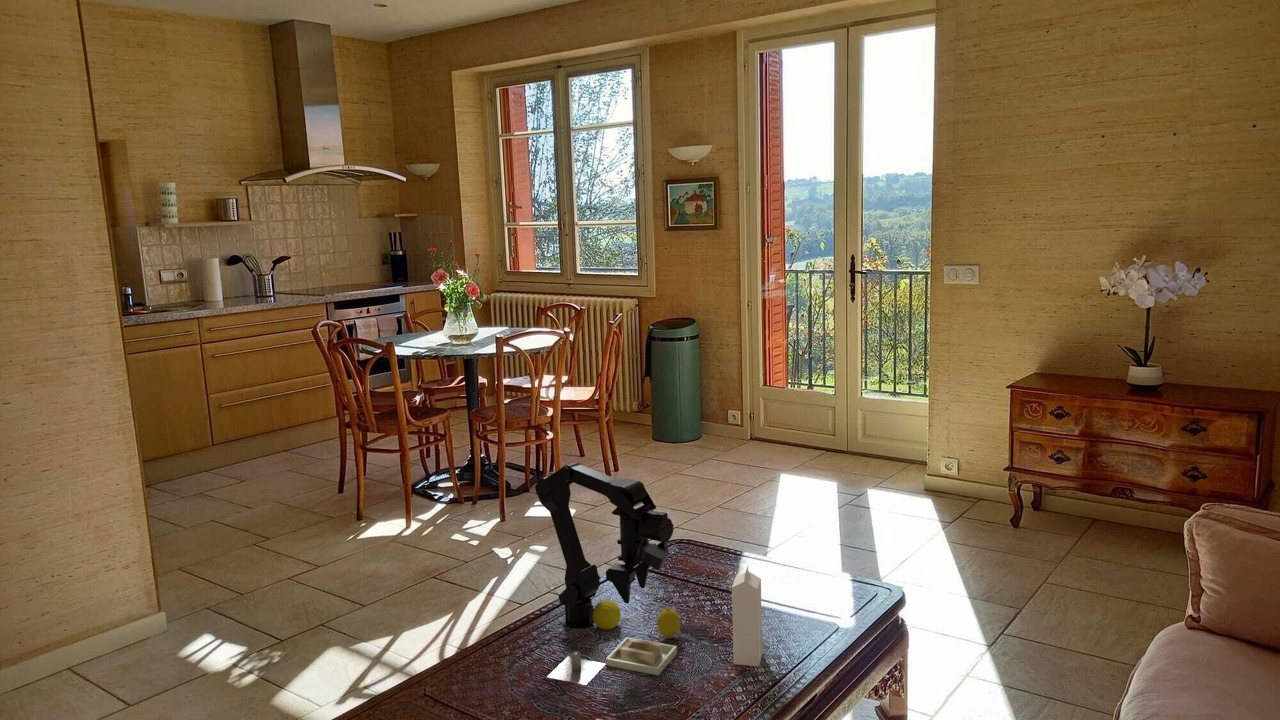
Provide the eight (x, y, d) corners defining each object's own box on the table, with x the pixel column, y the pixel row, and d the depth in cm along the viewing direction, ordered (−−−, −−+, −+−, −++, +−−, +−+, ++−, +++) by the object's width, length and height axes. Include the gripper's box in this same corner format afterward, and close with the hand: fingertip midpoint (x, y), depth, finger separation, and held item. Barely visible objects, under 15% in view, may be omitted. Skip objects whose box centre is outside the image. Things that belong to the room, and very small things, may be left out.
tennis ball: (616, 635, 225) (614, 609, 223) (589, 632, 227) (588, 606, 225) (624, 623, 231) (623, 597, 230) (598, 620, 233) (597, 594, 232)
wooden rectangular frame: (662, 655, 213) (661, 643, 212) (652, 667, 208) (652, 654, 207) (624, 648, 217) (624, 637, 216) (614, 659, 212) (613, 647, 211)
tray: (606, 666, 210) (605, 658, 209) (626, 644, 220) (626, 637, 219) (658, 677, 204) (658, 668, 204) (677, 653, 214) (676, 646, 214)
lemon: (678, 644, 219) (677, 613, 217) (656, 643, 220) (655, 612, 218) (682, 634, 224) (681, 603, 223) (660, 632, 225) (659, 602, 224)
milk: (733, 664, 209) (730, 574, 205) (737, 651, 214) (734, 564, 210) (759, 666, 207) (757, 576, 203) (762, 653, 213) (760, 565, 209)
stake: (546, 678, 206) (545, 659, 205) (567, 657, 214) (566, 639, 214) (585, 686, 201) (584, 667, 201) (605, 665, 210) (604, 646, 210)
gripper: (647, 552, 205) (649, 616, 207) (677, 524, 221) (679, 584, 224) (603, 546, 209) (606, 609, 212) (636, 519, 226) (639, 578, 229)
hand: (634, 595), depth 219 cm, fingers open, 9 cm apart
